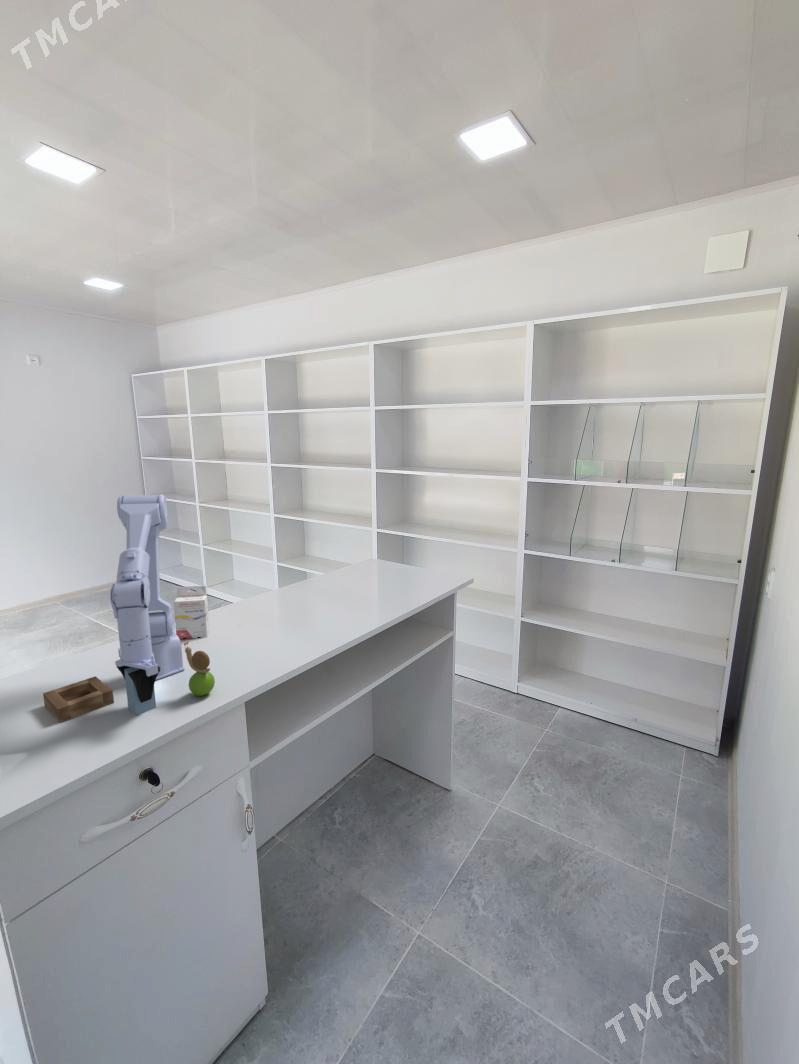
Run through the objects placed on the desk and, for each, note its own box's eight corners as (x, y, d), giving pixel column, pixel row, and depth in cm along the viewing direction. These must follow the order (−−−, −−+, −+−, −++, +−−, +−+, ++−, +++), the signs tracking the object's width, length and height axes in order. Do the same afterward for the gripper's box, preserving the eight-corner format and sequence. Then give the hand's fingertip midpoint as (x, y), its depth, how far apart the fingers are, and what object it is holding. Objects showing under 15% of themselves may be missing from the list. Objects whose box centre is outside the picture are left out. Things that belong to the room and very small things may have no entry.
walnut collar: (96, 688, 109) (95, 676, 109) (114, 702, 103) (112, 690, 103) (44, 706, 102) (43, 693, 101) (60, 722, 96) (58, 709, 95)
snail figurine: (197, 686, 111) (193, 637, 108) (220, 690, 109) (217, 640, 107) (180, 697, 105) (176, 646, 103) (204, 702, 104) (200, 650, 102)
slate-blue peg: (147, 701, 104) (144, 662, 102) (156, 707, 101) (152, 668, 100) (128, 708, 101) (124, 669, 99) (136, 715, 98) (132, 675, 97)
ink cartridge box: (176, 640, 137) (171, 591, 135) (179, 634, 142) (175, 586, 139) (207, 637, 139) (204, 589, 137) (210, 631, 144) (206, 584, 141)
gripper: (100, 633, 100) (107, 693, 102) (129, 651, 91) (135, 716, 93) (135, 624, 105) (141, 680, 108) (166, 640, 96) (171, 702, 99)
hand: (141, 696), depth 101 cm, fingers closed on slate-blue peg, 4 cm apart
